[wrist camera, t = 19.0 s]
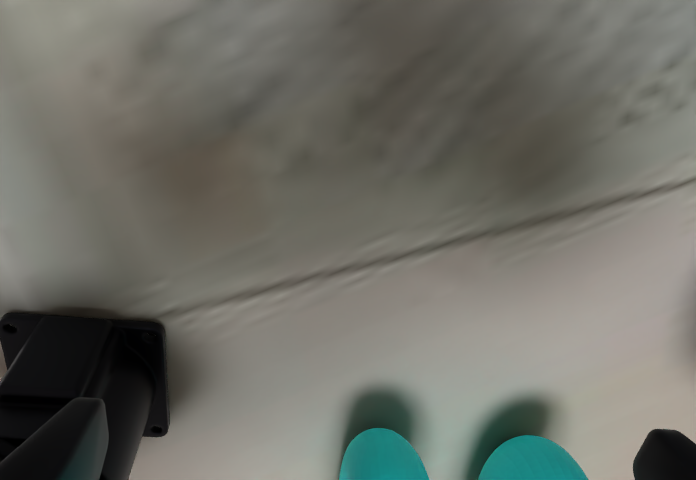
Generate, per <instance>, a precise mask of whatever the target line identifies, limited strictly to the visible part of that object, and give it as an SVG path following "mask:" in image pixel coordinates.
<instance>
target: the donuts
mask: <svg viewBox="0 0 696 480" xmlns="http://www.w3.org/2000/svg"><path fill="white" fill-rule="evenodd" d="M339 480H429V477H428V475H427V472H426V470H425V467H424V465H423V463H422V461H421V459H420V457H419V455H418V454H417V452H416V451H415V450H414V448H413V447H412V446H411V444H410V443H409V442H408V441H407V440H406V439H404V438H403V437H402V436H401V435H399V434H398V433H396V432H394V431H392V430H389V429H385V428H372V429H368V430H365V431H363V432H362V433H360V434H358V435H357V436H356V437H355V438H354V439H353V440H352V441H351V443H350V444H349V446H348V447H347V449H346V452H345V454H344V457H343V461H342V465H341V470H340V476H339ZM478 480H588V478H587V477H586V475H585V474H584V472H583V470H582V469H581V468H580V466H579V465H578V464H577V462H576V461H575V460H574V459H573V458H572V457H571V456H570V455H569V453H568V452H566V451H565V450H564V449H563V448H562V447H560V446H559V445H557V444H556V443H554V442H552V441H551V440H549V439H546V438H543V437H540V436H534V435H523V436H518V437H514V438H512V439H510V440H507V441H505V442H504V443H503V444H501V445H500V446H499V447H498V448H496V449H495V450H494V452H493V453H492V454H491V455H490V457H489V458H488V460H487V461H486V463H485V464H484V466H483V468H482V470H481V473H480V475H479V478H478Z"/></svg>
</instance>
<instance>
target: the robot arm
mask: <svg viewBox="0 0 696 480" xmlns="http://www.w3.org/2000/svg"><path fill="white" fill-rule="evenodd" d="M10 324H12V325H14V326H16V327H13V326H11V325H10ZM147 333H152V334H154V335H156V336H150V335H149V334H147ZM0 341H1V345H2V349H3V353H4V358H5V362H6V366H7V370H8V371H7V372H6V374H5V375H4V377H3V378H2V380H1V381H0V480H128V478H129V475H130V472H131V469H132V466H133V463H134V460H135V456H136V453H137V450H138V447H139V444H140V441H141V438H142V436H144V437H162V436H165V435H166V434H167V432H168V428H169V424H170V419H169V400H168V381H167V362H166V344H165V331H164V328H163V327H162V326H161V325H159V324H158V323H154V322H144V321H129V320H114V319H99V318H84V317H69V316H54V315H39V314H24V313H7V314H5V315H4V316H3V317H2V319H1V320H0ZM158 426H159V427H158ZM633 473H634V477H635V480H696V444H695V443H694V442H692V441H691V440H690V439H688V438H687V437H686V436H685V435H683V434H682V433H681V432H679V431H676V430H666V429H654V430H652V431H651V432H649V434H648V435H647V437H646V439H645V441H644V443H643V444H642V446H641V448H640V450H639V452H638V453H637V455H636V457H635V459H634V463H633Z"/></svg>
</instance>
